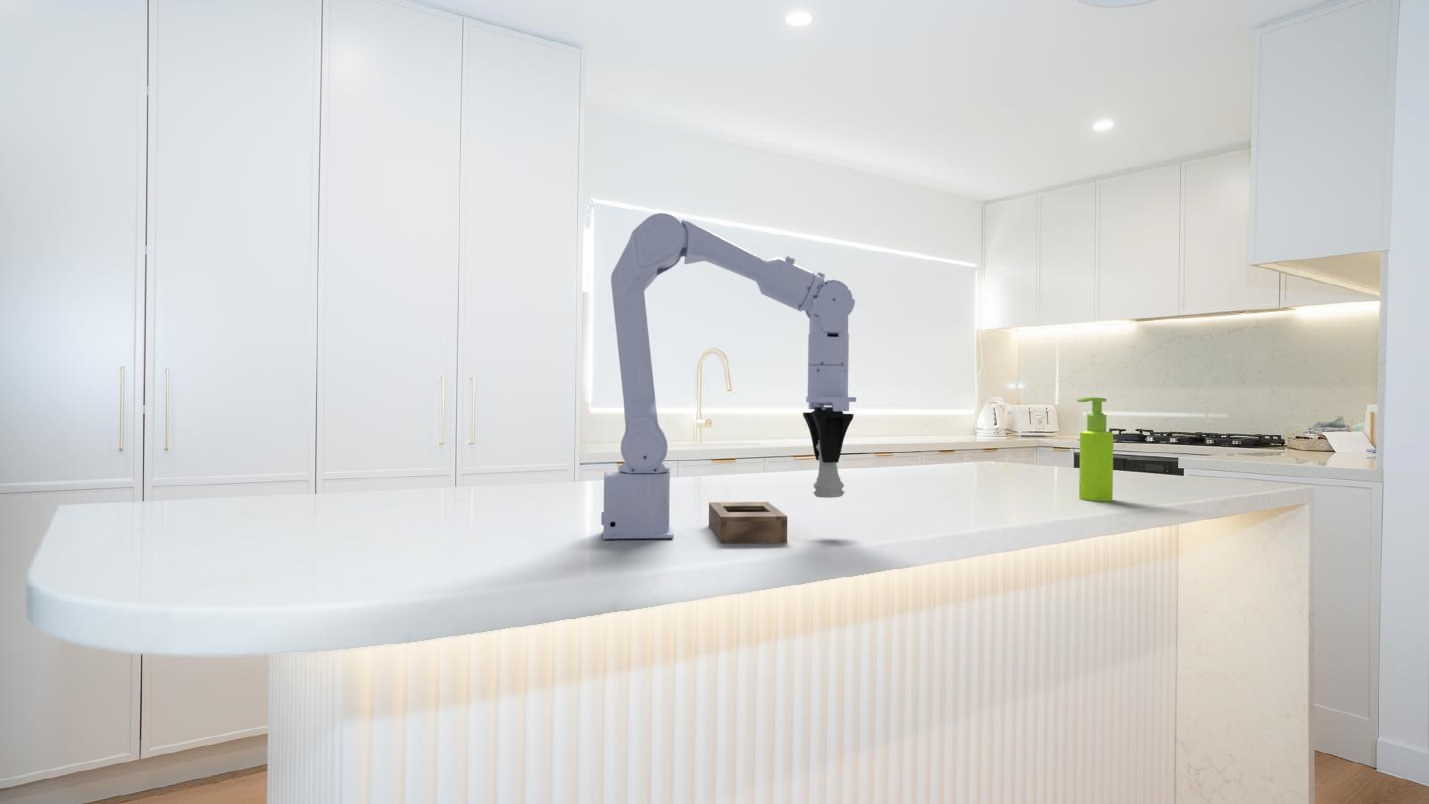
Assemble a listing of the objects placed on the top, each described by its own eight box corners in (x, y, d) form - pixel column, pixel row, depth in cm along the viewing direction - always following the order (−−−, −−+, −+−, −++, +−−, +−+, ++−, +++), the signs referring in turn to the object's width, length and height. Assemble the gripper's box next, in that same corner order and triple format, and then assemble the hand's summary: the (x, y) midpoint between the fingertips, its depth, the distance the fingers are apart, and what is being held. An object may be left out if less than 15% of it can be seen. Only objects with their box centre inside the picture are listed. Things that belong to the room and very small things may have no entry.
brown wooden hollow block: (720, 543, 103) (720, 516, 103) (708, 525, 117) (708, 502, 117) (787, 542, 104) (787, 516, 104) (767, 524, 118) (767, 501, 118)
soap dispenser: (1068, 497, 154) (1069, 397, 153) (1096, 496, 156) (1097, 397, 156) (1090, 501, 148) (1092, 397, 148) (1119, 500, 150) (1120, 397, 150)
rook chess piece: (845, 497, 108) (843, 440, 108) (813, 498, 109) (811, 441, 108) (844, 493, 112) (842, 438, 112) (813, 494, 113) (811, 439, 113)
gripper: (871, 364, 104) (870, 465, 104) (841, 368, 118) (839, 457, 118) (820, 363, 103) (818, 465, 103) (795, 367, 117) (794, 457, 117)
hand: (826, 461), depth 110 cm, fingers closed on rook chess piece, 3 cm apart
